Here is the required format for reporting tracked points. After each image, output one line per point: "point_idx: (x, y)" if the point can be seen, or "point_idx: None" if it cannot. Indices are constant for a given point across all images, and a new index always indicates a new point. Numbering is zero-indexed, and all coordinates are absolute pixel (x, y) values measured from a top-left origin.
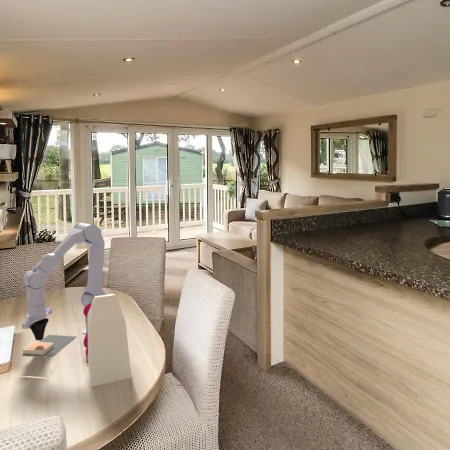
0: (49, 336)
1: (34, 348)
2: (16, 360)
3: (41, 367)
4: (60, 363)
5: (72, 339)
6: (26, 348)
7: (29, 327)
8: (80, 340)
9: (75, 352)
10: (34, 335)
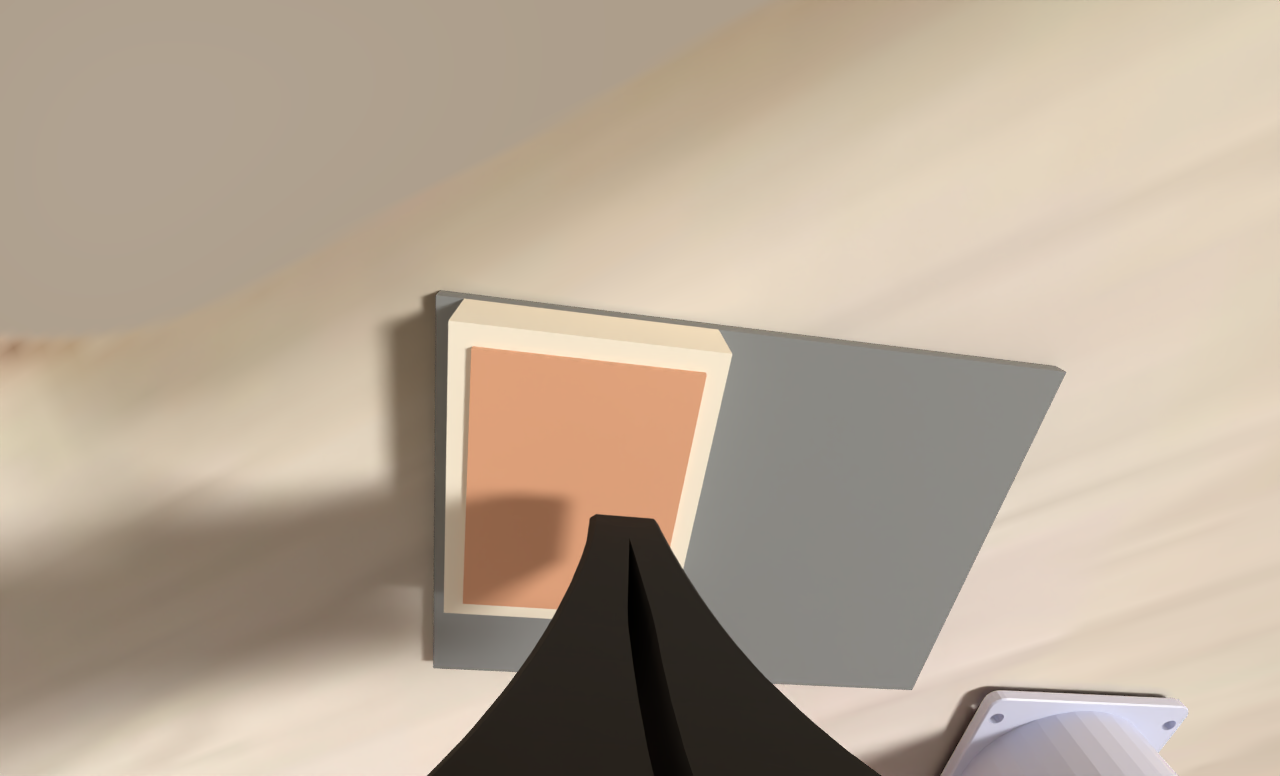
0: (1002, 405)
1: (480, 490)
2: (283, 289)
3: (210, 643)
4: (334, 750)
5: (843, 676)
6: (470, 375)
7: (475, 729)
8: (828, 724)
9: None
10: (579, 571)
